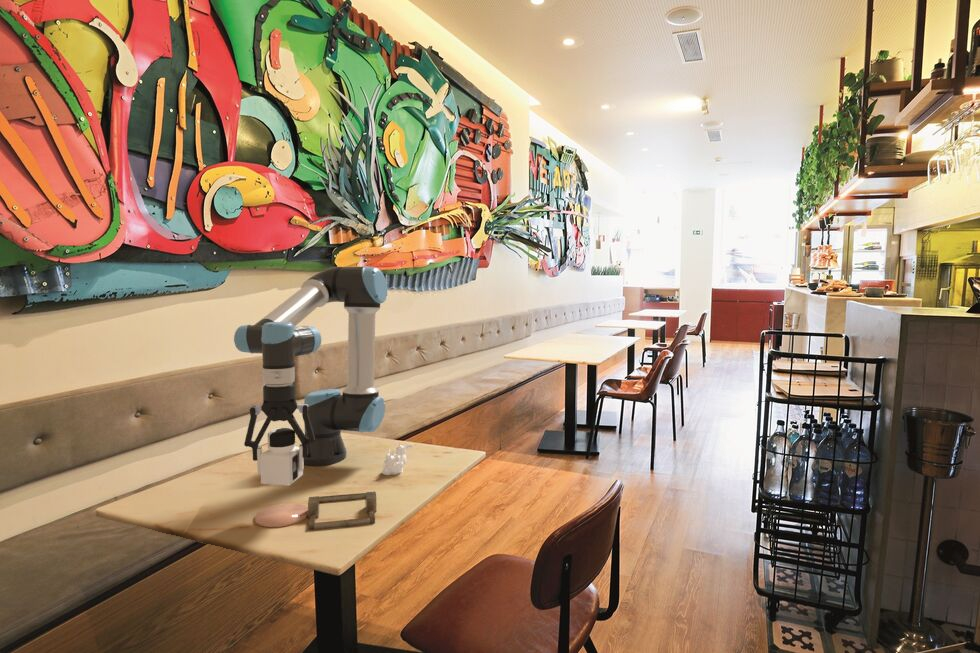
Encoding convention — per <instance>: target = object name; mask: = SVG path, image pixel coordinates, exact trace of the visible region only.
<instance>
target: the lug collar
mask: <svg viewBox="0 0 980 653" xmlns="http://www.w3.org/2000/svg"><path fill="white" fill-rule="evenodd" d="M362 499H365V507H366V508H365V510H366V513H367V514H368V513H369V517H362V518H352V519H351V518H350V519H342V520H331V521H321V522H316V520H317V518H319V516H320V503H327V502H339V501H351V500H362ZM307 507H308V517H307V518H308V519H309V521H308V530H309V531H311V530H322V529H331V528H332V529H333V528H340V527H342V528H344V527H352V526H362V525H363V526H364V525H369V524H371V525H373V524H375V523H376V516H375V513H376V512H377V492H376V491H366V492H362V493H360V492H359V493H346V494H336V495H326V496H325V495H324V496H323V495H322V496H318V495H317V496H309V497H308V501H307Z"/></svg>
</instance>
